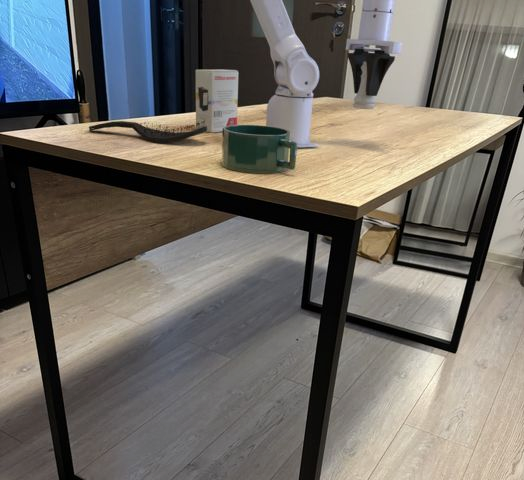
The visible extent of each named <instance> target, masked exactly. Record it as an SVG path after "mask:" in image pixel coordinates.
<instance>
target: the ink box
mask: <svg viewBox="0 0 524 480" xmlns="http://www.w3.org/2000/svg"><path fill="white" fill-rule="evenodd" d="M238 99H239V71H238V70H237V69H195V130H197V129H198V128H201V126H202V124H203V126H202V127H205V126H207V131H206V133H211V134H212V133H220V132H221V133H222V132H223V127H225V126H230V125H238V104H239V103H238ZM204 120H205V124H204V123H203V121H204ZM197 122H198V123H200V125H199V126H198V125H197V126H196V124H197ZM201 122H202V123H201ZM196 127H197V128H196Z"/></svg>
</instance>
